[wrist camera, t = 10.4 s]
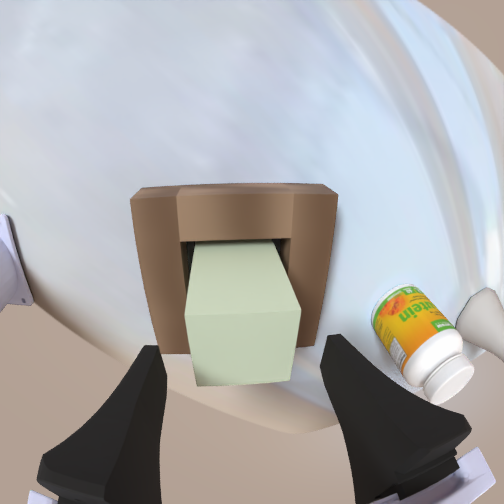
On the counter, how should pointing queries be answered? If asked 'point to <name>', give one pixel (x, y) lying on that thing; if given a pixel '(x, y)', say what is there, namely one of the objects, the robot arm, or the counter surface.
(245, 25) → the counter surface
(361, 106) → the counter surface
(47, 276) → the counter surface
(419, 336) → the supplement bottle
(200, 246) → the peg
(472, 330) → the flask
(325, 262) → the socket
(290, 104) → the counter surface
